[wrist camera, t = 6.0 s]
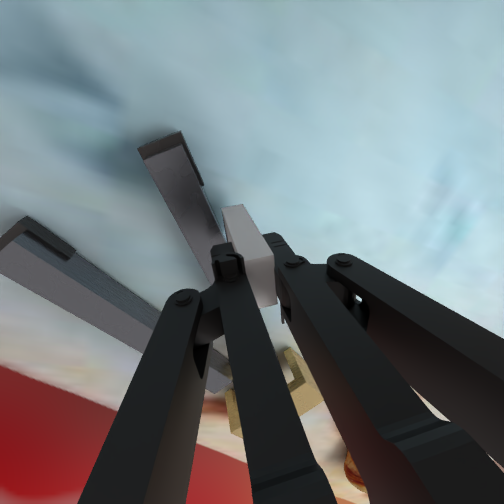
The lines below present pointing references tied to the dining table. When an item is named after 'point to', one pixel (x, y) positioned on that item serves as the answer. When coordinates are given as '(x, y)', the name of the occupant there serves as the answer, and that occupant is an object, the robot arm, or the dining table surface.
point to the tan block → (300, 390)
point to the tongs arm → (184, 195)
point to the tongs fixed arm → (85, 290)
